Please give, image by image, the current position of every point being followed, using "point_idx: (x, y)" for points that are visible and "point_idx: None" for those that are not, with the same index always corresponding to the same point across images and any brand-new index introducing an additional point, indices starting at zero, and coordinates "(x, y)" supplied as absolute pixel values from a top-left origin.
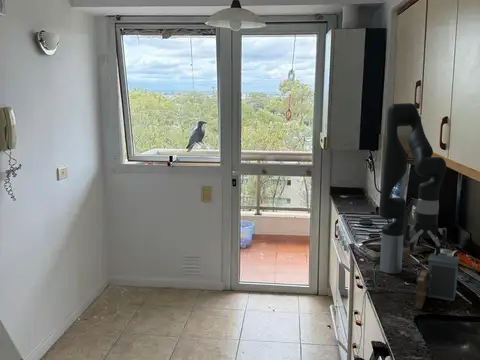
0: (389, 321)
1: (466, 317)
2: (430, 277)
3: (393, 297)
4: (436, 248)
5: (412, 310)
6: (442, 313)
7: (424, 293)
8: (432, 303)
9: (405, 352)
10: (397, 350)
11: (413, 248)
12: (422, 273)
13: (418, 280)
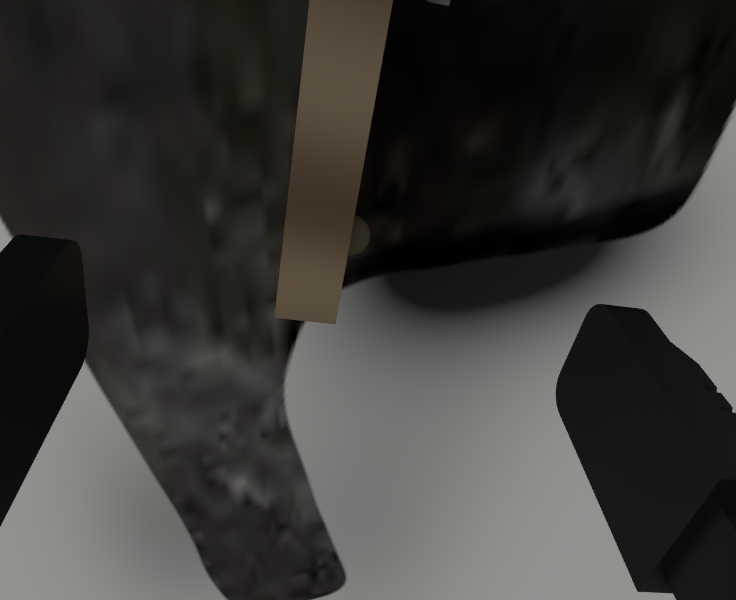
0: (157, 410)
1: (625, 225)
2: (438, 3)
3: (80, 9)
4: (622, 531)
5: (271, 231)
6: (476, 214)
7: (351, 253)
8: (428, 40)
9: (270, 596)
10: (240, 594)
11: (52, 397)
12: (329, 79)
13: (285, 316)
